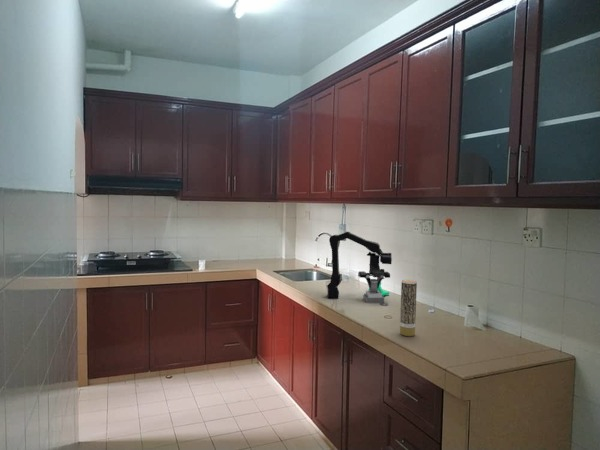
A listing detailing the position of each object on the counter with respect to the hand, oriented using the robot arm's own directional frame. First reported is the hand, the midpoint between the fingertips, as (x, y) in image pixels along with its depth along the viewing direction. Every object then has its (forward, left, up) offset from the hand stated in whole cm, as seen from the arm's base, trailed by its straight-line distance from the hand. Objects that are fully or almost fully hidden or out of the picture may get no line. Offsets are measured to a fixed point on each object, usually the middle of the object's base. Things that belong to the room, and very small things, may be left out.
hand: (373, 288), depth 248 cm
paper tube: (0, -61, -8) cm, 62 cm away
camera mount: (+8, +16, -8) cm, 20 cm away
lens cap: (+4, -9, -8) cm, 13 cm away
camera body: (0, 0, -8) cm, 8 cm away
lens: (0, 0, -2) cm, 2 cm away
